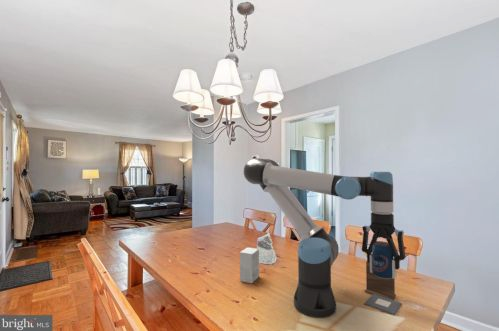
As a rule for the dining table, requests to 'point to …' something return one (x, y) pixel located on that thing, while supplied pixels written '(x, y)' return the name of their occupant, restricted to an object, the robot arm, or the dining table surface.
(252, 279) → the small box
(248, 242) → the dining table surface
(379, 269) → the soda can
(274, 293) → the dining table surface
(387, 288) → the walnut screen
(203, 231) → the dining table surface
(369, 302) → the pad
